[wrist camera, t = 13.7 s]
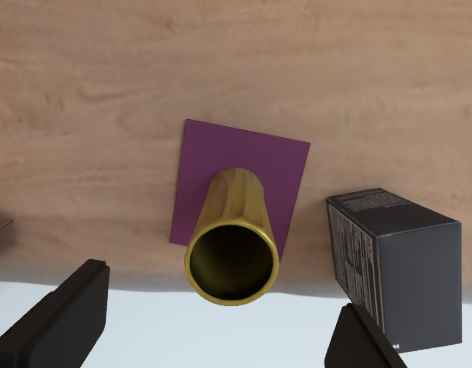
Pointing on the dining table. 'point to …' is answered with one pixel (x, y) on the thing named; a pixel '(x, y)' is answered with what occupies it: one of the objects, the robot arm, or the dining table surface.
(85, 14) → the dining table surface
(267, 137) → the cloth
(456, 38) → the dining table surface
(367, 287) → the small box
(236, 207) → the vase
